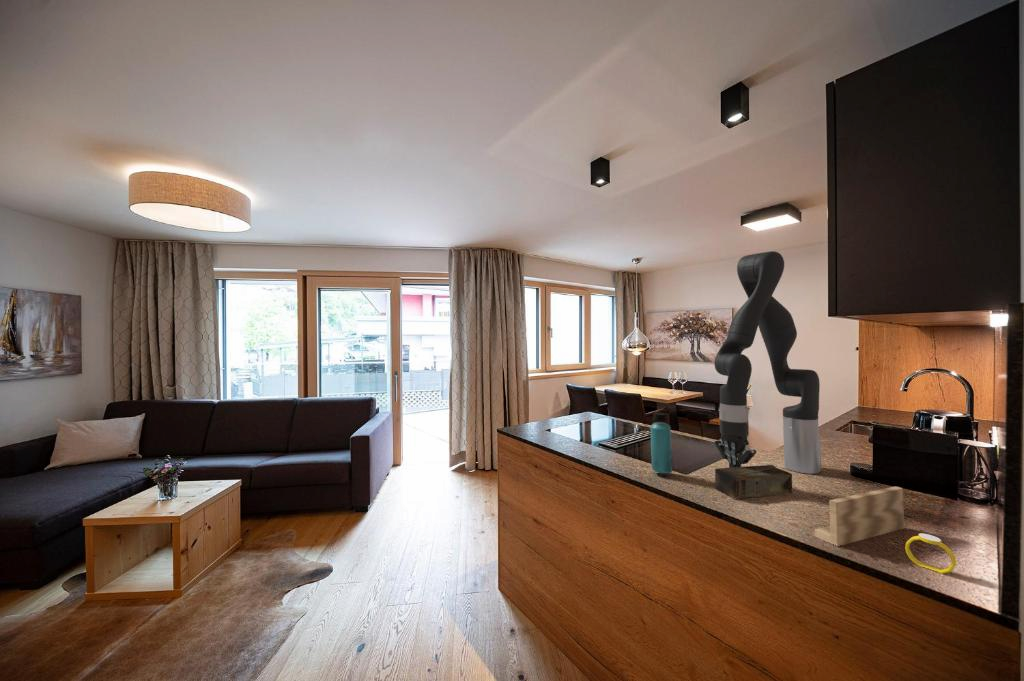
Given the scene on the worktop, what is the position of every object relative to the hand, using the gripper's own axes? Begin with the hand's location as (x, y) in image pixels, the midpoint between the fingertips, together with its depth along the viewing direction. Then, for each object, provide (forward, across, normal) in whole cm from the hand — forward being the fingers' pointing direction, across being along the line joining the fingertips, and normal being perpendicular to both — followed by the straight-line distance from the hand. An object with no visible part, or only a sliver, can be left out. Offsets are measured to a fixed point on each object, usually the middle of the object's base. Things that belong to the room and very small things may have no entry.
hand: (735, 475), depth 109 cm
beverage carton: (+2, -6, +1) cm, 7 cm away
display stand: (+2, -31, -1) cm, 31 cm away
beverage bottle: (+2, +13, +16) cm, 21 cm away
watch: (+2, -43, +2) cm, 44 cm away
